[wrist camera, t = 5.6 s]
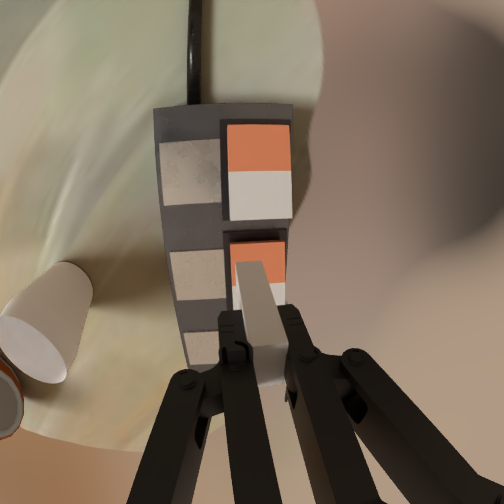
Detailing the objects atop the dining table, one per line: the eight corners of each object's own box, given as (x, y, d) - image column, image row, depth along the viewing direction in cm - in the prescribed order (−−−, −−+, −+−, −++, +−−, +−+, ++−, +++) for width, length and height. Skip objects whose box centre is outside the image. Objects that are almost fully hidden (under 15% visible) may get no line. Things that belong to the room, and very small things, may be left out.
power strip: (165, 1, 17) (156, -21, 13) (280, -1, 18) (293, -22, 14) (191, 355, 36) (190, 385, 31) (272, 350, 37) (279, 378, 33)
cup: (83, 243, 27) (31, 308, 16) (113, 309, 31) (85, 384, 20) (31, 260, 27) (-20, 318, 16) (61, 318, 31) (27, 383, 20)
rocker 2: (229, 242, 24) (230, 244, 23) (281, 239, 25) (284, 241, 24) (233, 318, 25) (234, 323, 24) (282, 314, 26) (285, 319, 25)
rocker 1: (227, 128, 20) (227, 124, 19) (285, 128, 20) (288, 125, 19) (229, 219, 21) (230, 220, 20) (288, 217, 22) (292, 218, 21)
